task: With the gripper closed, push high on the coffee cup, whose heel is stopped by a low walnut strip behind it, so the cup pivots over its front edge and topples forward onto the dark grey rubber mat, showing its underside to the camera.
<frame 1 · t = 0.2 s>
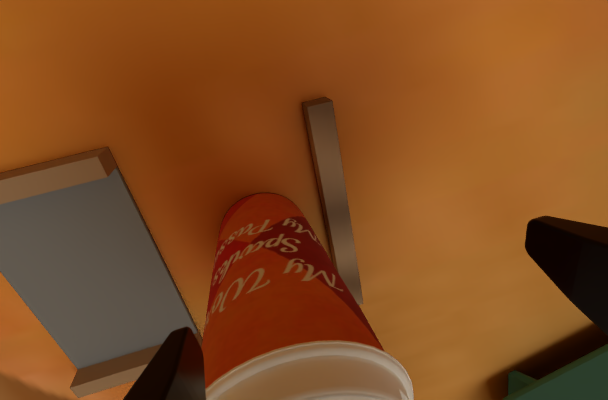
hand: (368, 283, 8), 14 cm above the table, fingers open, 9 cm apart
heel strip: (333, 211, 24), on the table
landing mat: (96, 278, 22), on the table
coffee cup: (262, 229, 24), on the table
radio: (606, 336, 40), on the table
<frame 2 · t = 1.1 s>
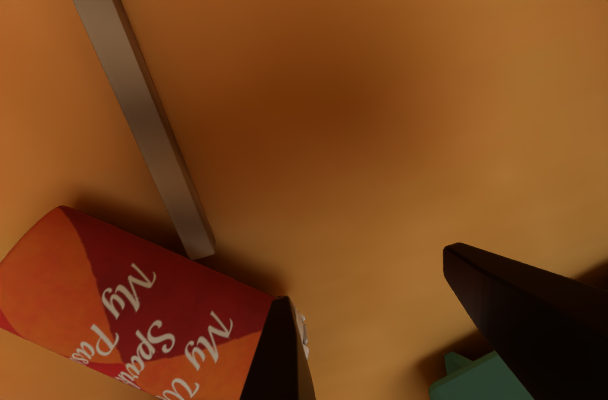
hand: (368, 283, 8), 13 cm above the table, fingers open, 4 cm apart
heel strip: (153, 123, 18), on the table
coffee cup: (20, 255, 16), point 3 cm above the table
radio: (563, 312, 33), on the table
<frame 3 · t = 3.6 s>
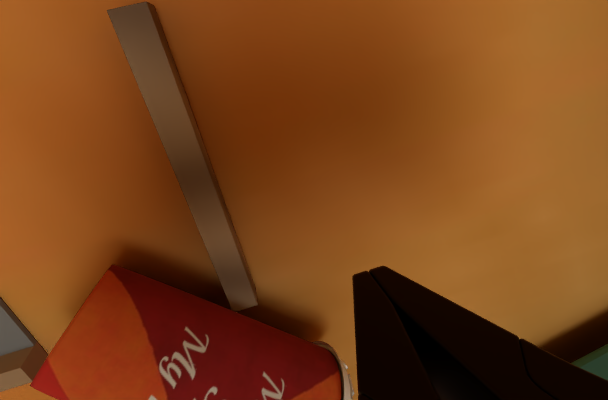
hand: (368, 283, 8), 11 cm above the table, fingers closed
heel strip: (201, 179, 18), on the table
coffee cup: (70, 319, 16), point 3 cm above the table
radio: (593, 342, 33), on the table
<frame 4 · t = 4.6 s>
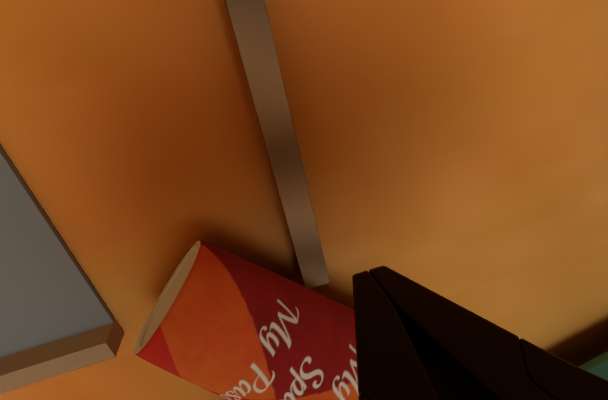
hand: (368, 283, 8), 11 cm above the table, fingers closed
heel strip: (283, 157, 18), on the table
coffee cup: (164, 292, 17), point 3 cm above the table
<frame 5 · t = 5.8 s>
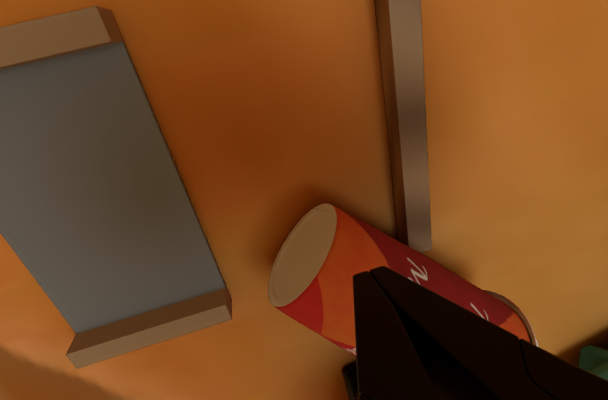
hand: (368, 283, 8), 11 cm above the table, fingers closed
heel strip: (399, 125, 19), on the table
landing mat: (97, 208, 17), on the table
coffee cup: (295, 251, 17), point 3 cm above the table
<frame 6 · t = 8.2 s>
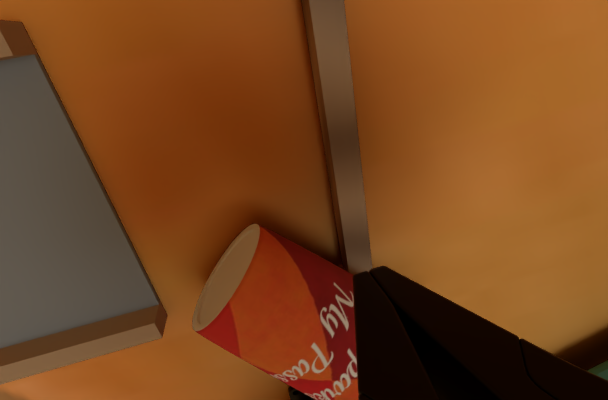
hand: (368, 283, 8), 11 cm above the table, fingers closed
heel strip: (337, 145, 19), on the table
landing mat: (17, 222, 17), on the table
coffee cup: (221, 272, 17), point 3 cm above the table
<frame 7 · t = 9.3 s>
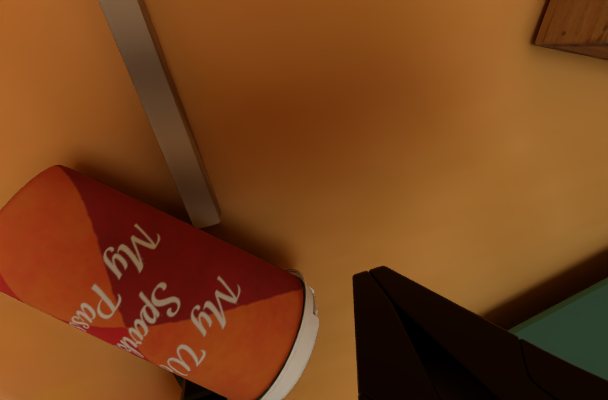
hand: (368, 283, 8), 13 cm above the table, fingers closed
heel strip: (157, 82, 17), on the table
coffee cup: (17, 216, 16), point 3 cm above the table
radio: (575, 294, 33), on the table
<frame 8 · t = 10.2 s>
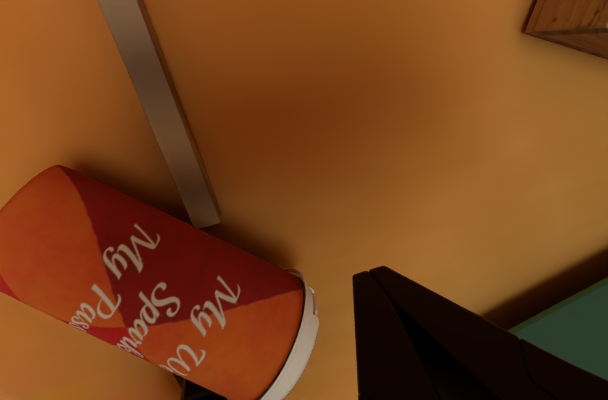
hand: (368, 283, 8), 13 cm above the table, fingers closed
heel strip: (157, 82, 17), on the table
coffee cup: (17, 216, 16), point 3 cm above the table
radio: (575, 294, 33), on the table
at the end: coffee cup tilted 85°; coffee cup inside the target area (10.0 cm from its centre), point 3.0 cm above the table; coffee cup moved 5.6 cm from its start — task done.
